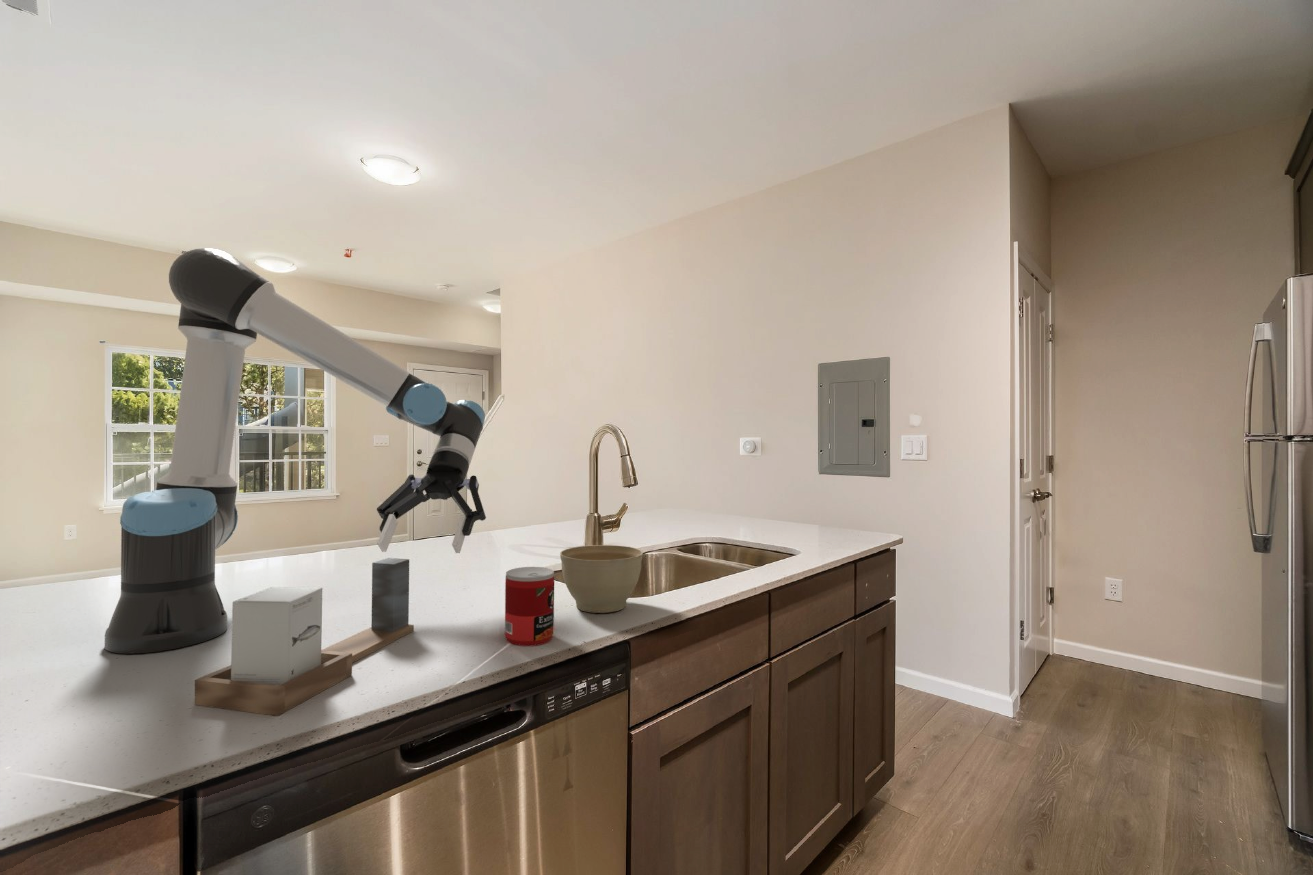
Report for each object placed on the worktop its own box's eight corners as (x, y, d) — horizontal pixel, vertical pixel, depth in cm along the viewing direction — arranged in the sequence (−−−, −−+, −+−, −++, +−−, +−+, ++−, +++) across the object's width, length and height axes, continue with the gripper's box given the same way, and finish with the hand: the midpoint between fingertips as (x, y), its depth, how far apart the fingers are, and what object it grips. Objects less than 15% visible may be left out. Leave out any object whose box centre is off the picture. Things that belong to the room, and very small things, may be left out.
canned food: (542, 648, 91) (543, 578, 91) (495, 644, 93) (496, 575, 93) (560, 632, 99) (561, 568, 99) (516, 629, 100) (517, 565, 100)
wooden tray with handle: (194, 704, 70) (195, 605, 70) (367, 626, 100) (367, 556, 100) (277, 715, 68) (279, 613, 68) (429, 632, 97) (430, 560, 97)
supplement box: (287, 704, 71) (289, 601, 71) (228, 703, 71) (229, 600, 71) (323, 679, 79) (324, 586, 79) (268, 678, 79) (270, 585, 79)
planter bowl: (655, 601, 118) (656, 548, 118) (618, 624, 103) (618, 563, 103) (586, 592, 125) (587, 541, 125) (542, 612, 110) (543, 554, 110)
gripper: (514, 473, 122) (491, 560, 107) (397, 472, 123) (358, 558, 108) (507, 449, 117) (482, 537, 102) (385, 447, 117) (342, 534, 103)
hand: (418, 548), depth 105 cm, fingers open, 13 cm apart
